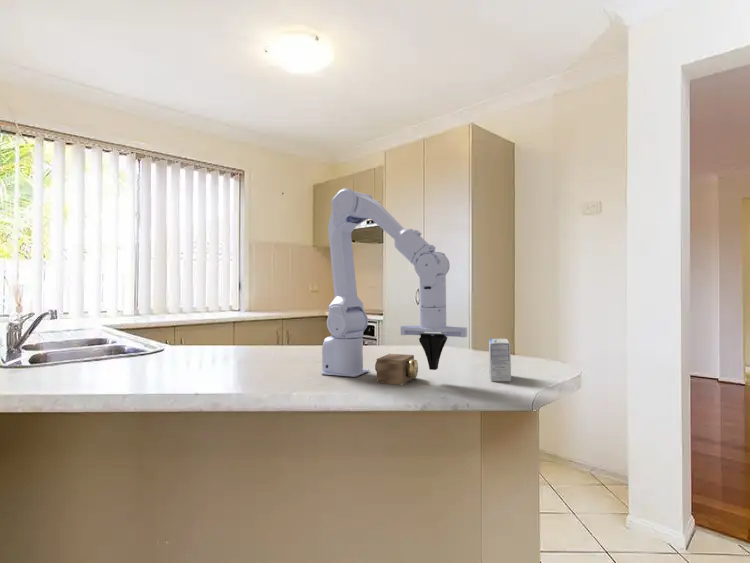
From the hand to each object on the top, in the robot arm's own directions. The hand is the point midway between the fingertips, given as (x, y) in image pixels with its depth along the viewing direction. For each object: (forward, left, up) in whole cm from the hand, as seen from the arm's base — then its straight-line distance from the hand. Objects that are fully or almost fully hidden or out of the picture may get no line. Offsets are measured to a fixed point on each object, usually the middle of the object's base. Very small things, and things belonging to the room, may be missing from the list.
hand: (433, 369), depth 103 cm
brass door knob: (-9, 0, -2) cm, 9 cm away
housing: (-9, 0, -3) cm, 9 cm away
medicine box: (+13, +10, -3) cm, 16 cm away
